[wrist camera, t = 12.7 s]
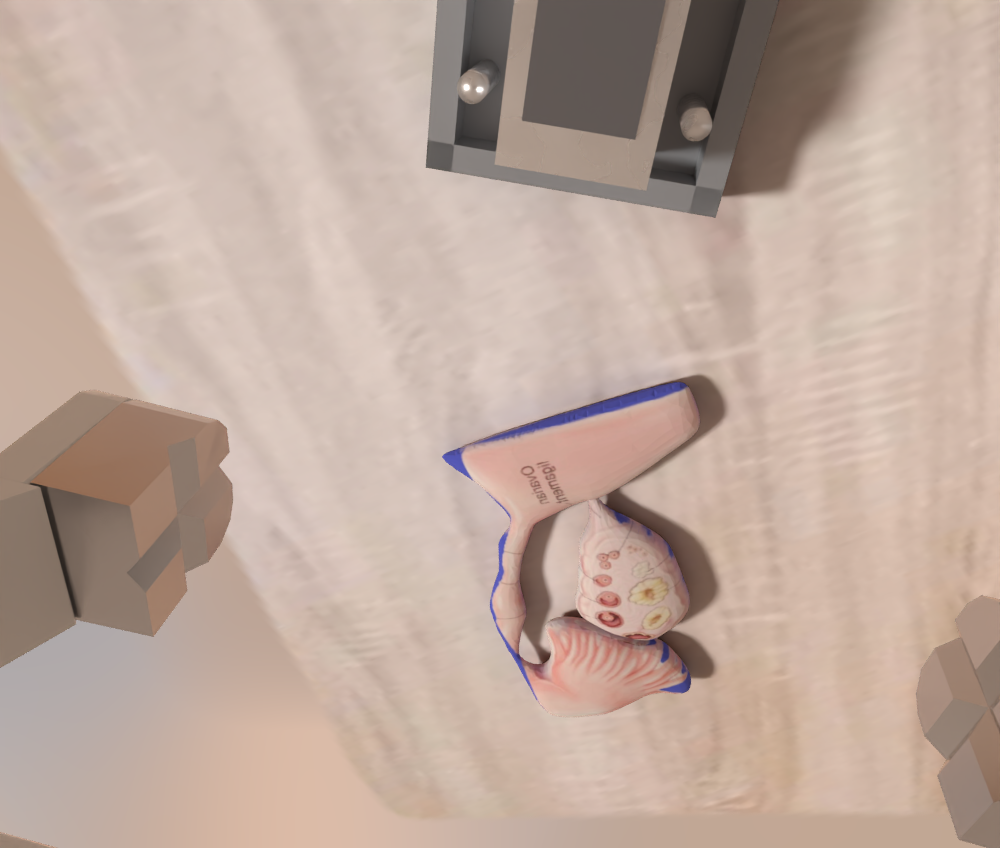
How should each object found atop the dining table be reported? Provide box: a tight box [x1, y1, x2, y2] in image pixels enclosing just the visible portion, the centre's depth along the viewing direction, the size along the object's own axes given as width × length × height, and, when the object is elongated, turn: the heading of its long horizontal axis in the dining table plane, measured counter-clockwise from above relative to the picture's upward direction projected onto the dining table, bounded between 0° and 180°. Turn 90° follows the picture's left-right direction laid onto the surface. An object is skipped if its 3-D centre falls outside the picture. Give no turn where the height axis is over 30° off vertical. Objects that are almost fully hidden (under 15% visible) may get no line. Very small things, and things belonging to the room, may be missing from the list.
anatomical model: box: [442, 382, 700, 717], centre depth 41 cm, size 20×3×15 cm
